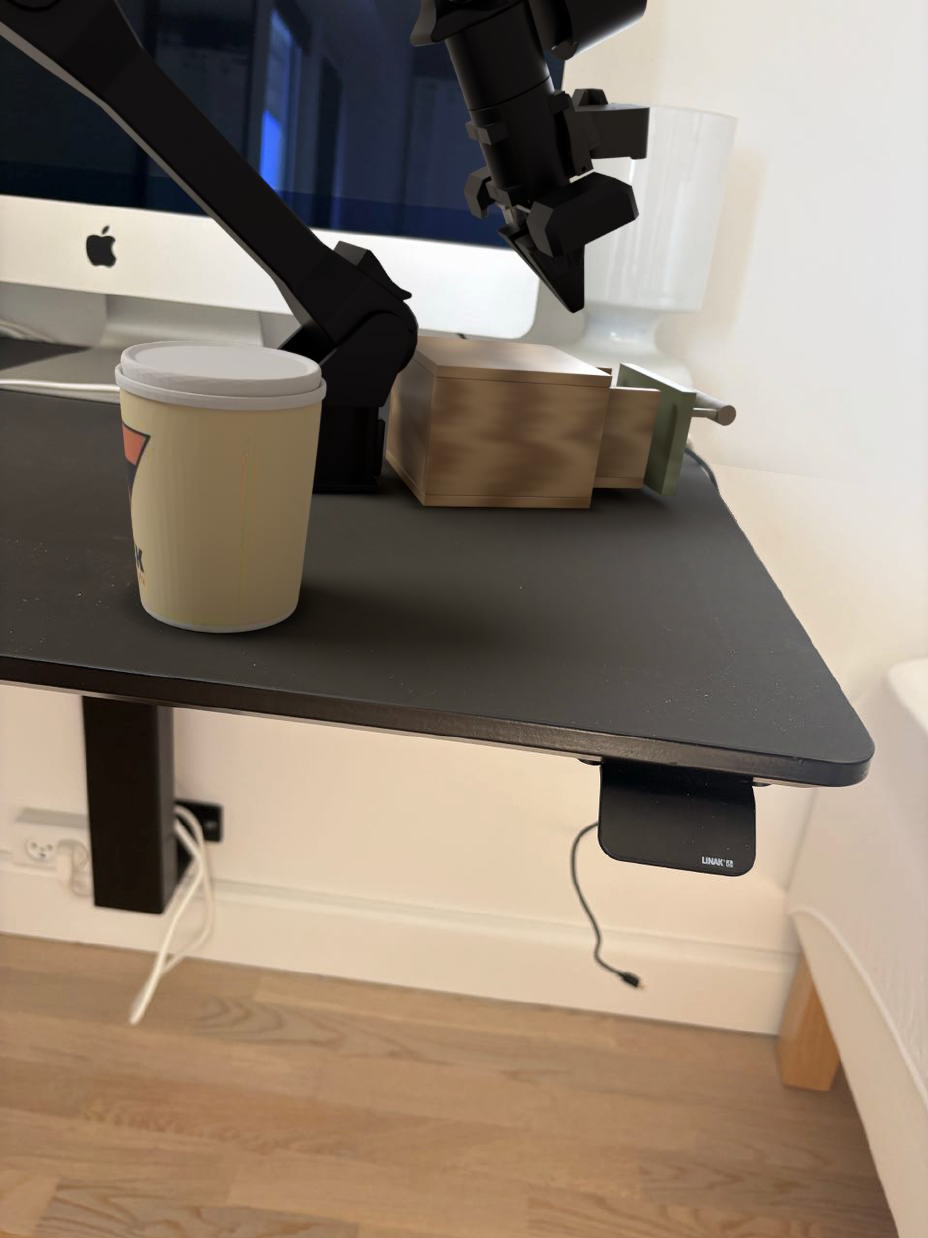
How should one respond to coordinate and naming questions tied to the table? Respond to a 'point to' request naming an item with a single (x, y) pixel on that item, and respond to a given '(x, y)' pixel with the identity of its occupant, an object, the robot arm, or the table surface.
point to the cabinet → (497, 424)
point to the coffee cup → (219, 478)
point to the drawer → (650, 429)
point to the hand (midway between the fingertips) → (576, 309)
